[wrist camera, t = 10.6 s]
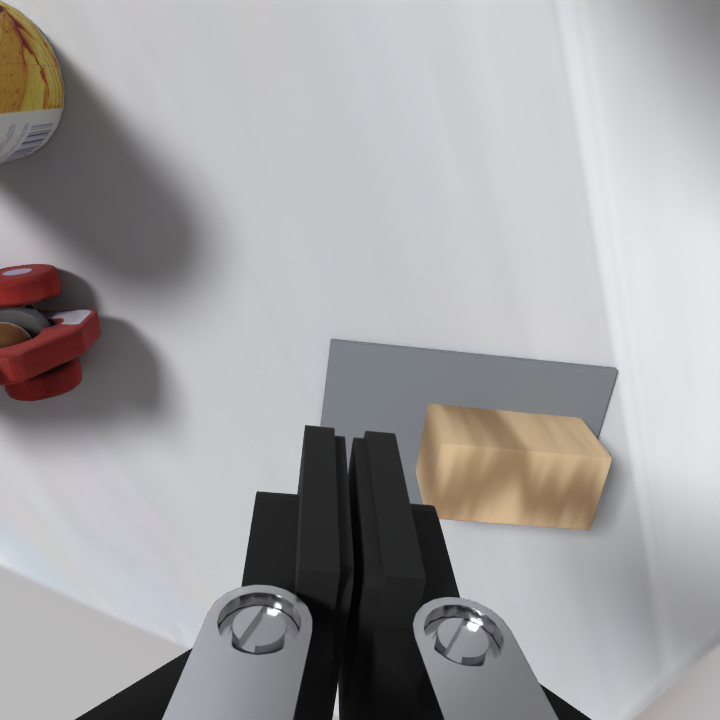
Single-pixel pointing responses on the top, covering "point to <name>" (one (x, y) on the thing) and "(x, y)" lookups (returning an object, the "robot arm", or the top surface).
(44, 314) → the toy fire truck
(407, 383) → the mat
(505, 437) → the oak block
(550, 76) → the top surface
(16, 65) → the canned food
